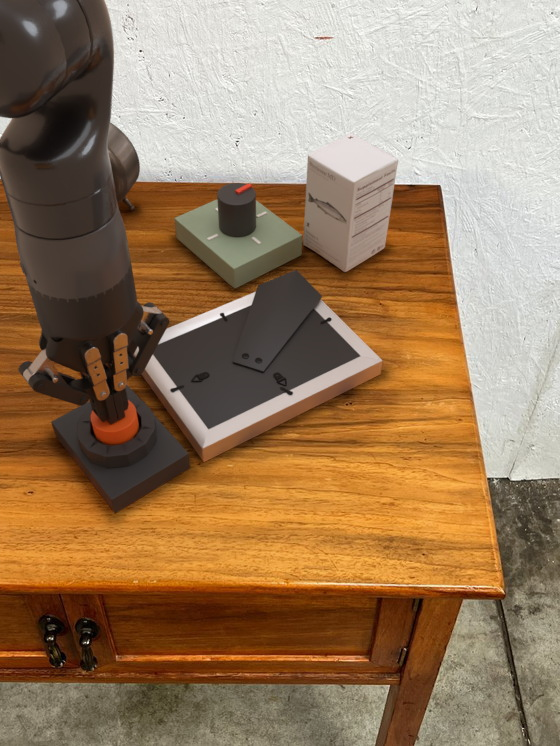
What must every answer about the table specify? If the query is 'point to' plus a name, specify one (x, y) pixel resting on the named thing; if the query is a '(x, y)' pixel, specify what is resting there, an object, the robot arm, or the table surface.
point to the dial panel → (238, 243)
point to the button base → (123, 454)
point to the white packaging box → (348, 200)
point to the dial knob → (237, 209)
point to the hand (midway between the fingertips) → (112, 415)
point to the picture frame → (256, 364)
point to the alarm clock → (122, 163)
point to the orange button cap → (116, 427)
